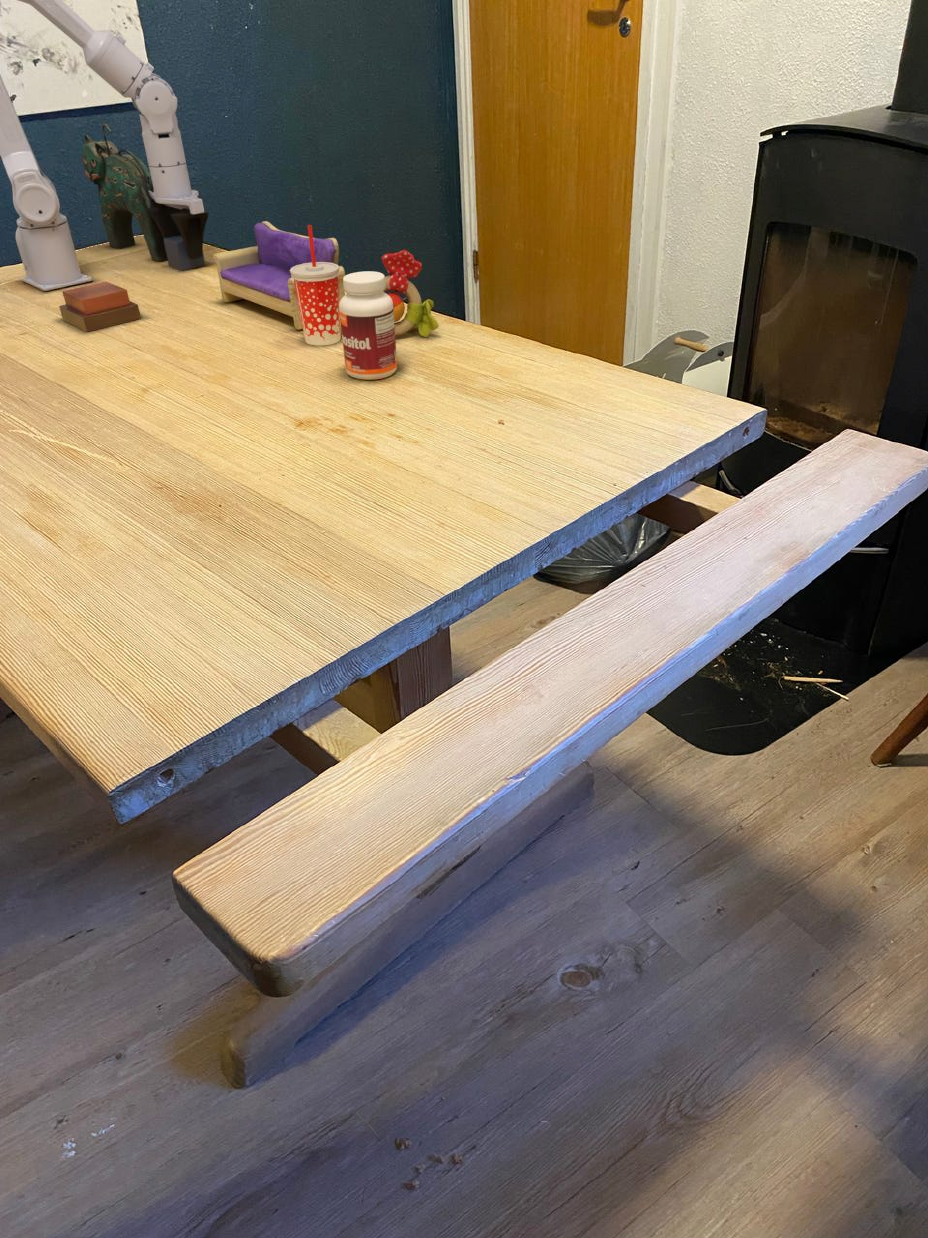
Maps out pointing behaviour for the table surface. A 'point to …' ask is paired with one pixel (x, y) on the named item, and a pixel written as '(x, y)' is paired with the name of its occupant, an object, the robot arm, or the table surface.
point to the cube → (180, 254)
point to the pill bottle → (367, 326)
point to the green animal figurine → (122, 194)
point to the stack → (98, 306)
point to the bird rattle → (407, 294)
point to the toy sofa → (272, 269)
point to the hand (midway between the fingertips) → (185, 254)
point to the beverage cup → (318, 299)
